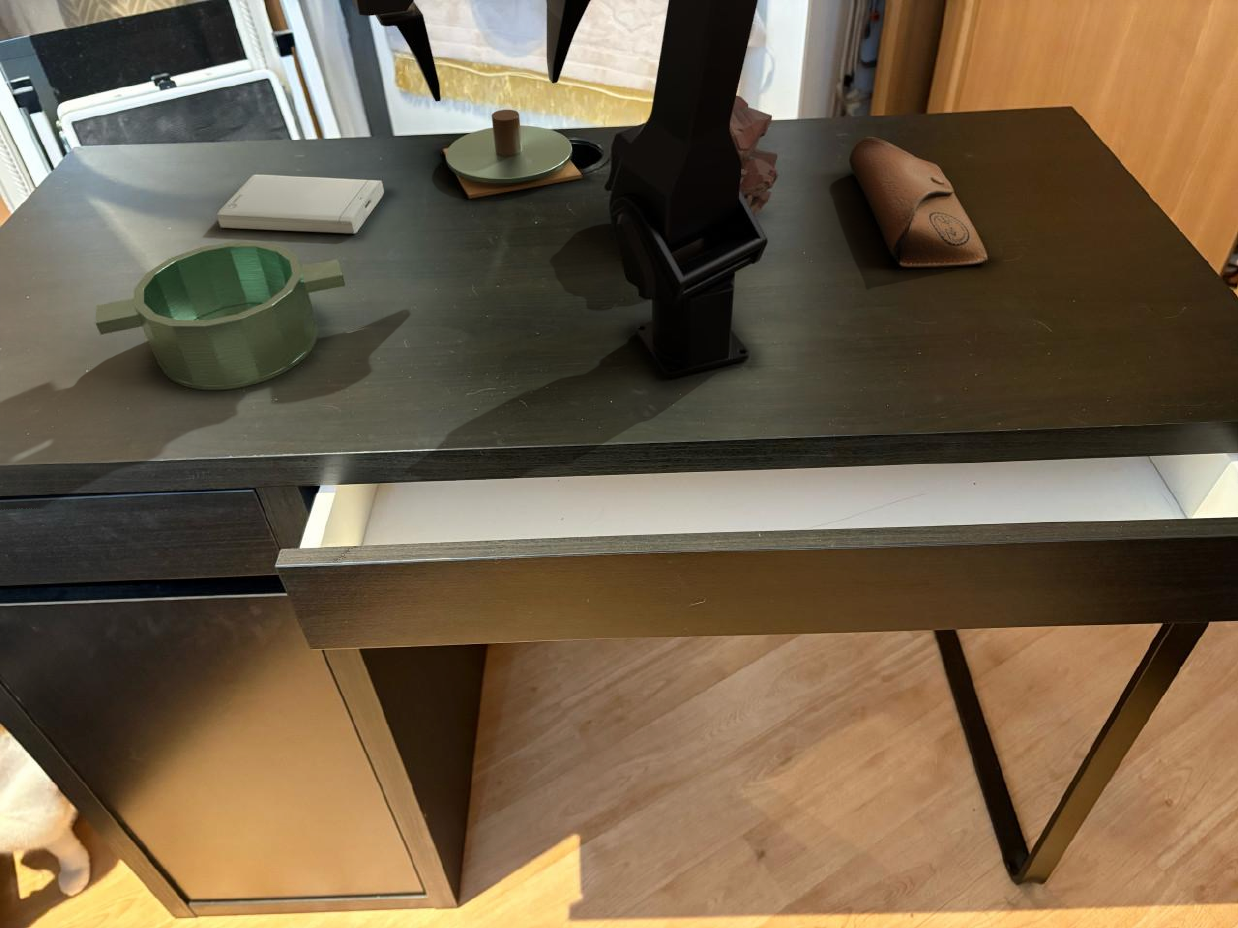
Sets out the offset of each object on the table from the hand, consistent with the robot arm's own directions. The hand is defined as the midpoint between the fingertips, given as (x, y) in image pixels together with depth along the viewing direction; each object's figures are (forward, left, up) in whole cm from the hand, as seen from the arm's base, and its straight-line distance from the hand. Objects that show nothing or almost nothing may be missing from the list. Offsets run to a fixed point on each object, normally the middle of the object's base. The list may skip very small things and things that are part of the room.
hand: (496, 90), depth 74 cm
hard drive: (+13, +16, -13) cm, 24 cm away
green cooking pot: (-7, +23, -13) cm, 27 cm away
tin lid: (+15, -4, -12) cm, 20 cm away
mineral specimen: (-4, -16, -13) cm, 21 cm away
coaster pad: (+15, -4, -13) cm, 20 cm away
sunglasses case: (-9, -34, -13) cm, 37 cm away
